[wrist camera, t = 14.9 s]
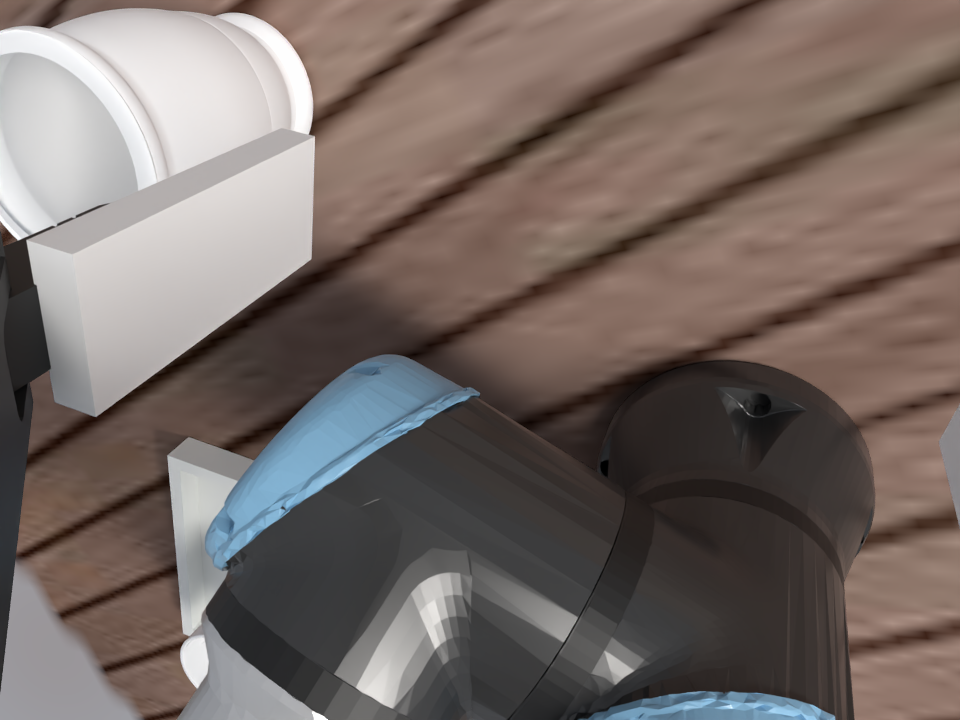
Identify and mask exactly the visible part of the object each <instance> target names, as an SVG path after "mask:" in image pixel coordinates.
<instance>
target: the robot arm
mask: <svg viewBox="0 0 960 720" xmlns="http://www.w3.org/2000/svg"><path fill="white" fill-rule="evenodd" d="M314 151H315V136H311V135H307V134H303V133H299V132H296V131H292V130H288V129H284V128H280V129H278V130H276V131H273V132H271V133H269V134H267V135H264V136H262V137H260V138H258V139H255V140H253V141H251V142H248V143H246V144H244V145H242V146H239V147H237V148H235V149H232V150H230V151H228V152H226V153H223V154H221V155H219V156H217V157H214V158H212V159H210V160H207V161H205V162H203V163H201V164H198V165H196V166H194V167H192V168H189V169H187V170H185V171H182V172H180V173H178V174H176V175H173V176H171V177H169V178H167V179H164V180H162V181H160V182H157V183H155V184H153V185H151V186H148V187H146V188H144V189H142V190H139V191H137V192H135V193H132V194H130V195H128V196H126V197H123V198H121V199H119V200H116V201H114V202H112V203H108V204H103V205H99V206H96V207H94V208H92V209H89V210H87V211H85V212H82V213H80V214H78V215H76V218H72V217H71V218H69V219H66V220H64V221H62V222H60V223H57V226H56V227H55V226H50V227H48V228H46V229H43V230H41V231H39V232H37V233H34V234H32V235H30V236H27V237H25V238H23V239H20V240H18V241H16V242H14V243H11V244H9V245H7V246H4V247H3V242H2V237H1V232H0V690H1V681H2V672H3V664H4V655H5V646H6V637H7V628H8V620H9V611H10V601H11V593H12V585H13V576H14V567H15V559H16V550H17V541H18V532H19V523H20V515H21V506H22V497H23V488H24V480H25V471H26V462H27V453H28V445H29V436H30V427H31V418H32V409H33V398H32V393H31V388H30V382H31V381H32V380H34V379H35V378H37V377H39V376H40V375H42V374H43V373H45V372H47V371H48V370H49V372H50V378H51V384H52V389H53V395H54V401H55V403H58V404H61V405H64V406H67V407H69V408H72V409H75V410H78V411H80V412H83V413H86V414H89V415H92V416H94V417H97V416H98V415H99V414H101V413H102V412H103V411H105V410H106V409H108V408H109V407H110V406H112V405H113V404H114V403H116V402H117V401H118V400H120V399H121V398H123V397H124V396H125V395H127V394H128V393H129V392H131V391H132V390H133V389H135V388H136V387H138V386H139V385H140V384H142V383H143V382H144V381H146V380H147V379H149V378H150V377H151V376H153V375H154V374H155V373H157V372H158V371H159V370H161V369H162V368H164V367H165V366H166V365H168V364H169V363H170V362H172V361H173V360H174V359H176V358H177V357H179V356H180V355H181V354H183V353H184V352H185V351H187V350H188V349H190V348H191V347H192V346H194V345H195V344H196V343H198V342H199V341H200V340H202V339H203V338H205V337H206V336H207V335H209V334H210V333H211V332H213V331H214V330H215V329H217V328H218V327H220V326H221V325H222V324H224V323H225V322H226V321H228V320H229V319H231V318H232V317H233V316H235V315H236V314H237V313H239V312H240V311H241V310H243V309H244V308H246V307H247V306H248V305H250V304H251V303H252V302H254V301H255V300H256V299H258V298H259V297H261V296H262V295H263V294H265V293H266V292H267V291H269V290H270V289H272V288H273V287H274V286H276V285H277V284H278V283H280V282H281V281H282V280H284V279H285V278H287V277H288V276H289V275H291V274H292V273H293V272H295V271H296V270H297V269H299V268H300V267H302V266H303V265H304V264H306V263H307V262H308V261H310V260H311V258H312V223H313V187H314ZM479 397H480V393H479V392H478V391H476V390H475V389H473V388H471V387H469V388H463V387H461V386H459V385H457V384H455V383H454V382H452V381H450V380H448V379H446V378H445V377H443V376H441V375H439V374H437V373H436V372H434V371H432V370H430V369H428V368H426V367H425V366H423V365H421V364H419V363H417V362H416V361H414V360H412V359H409V358H407V357H404V356H400V355H392V354H387V355H379V356H375V357H372V358H369V359H366V360H364V361H362V362H360V363H358V364H356V365H354V366H353V367H351V368H350V369H348V370H347V371H345V372H344V373H343V374H341V375H340V376H338V377H337V378H336V379H334V380H333V381H332V382H331V383H329V384H328V385H327V386H326V387H325V388H324V389H322V390H321V391H320V392H319V393H318V394H317V395H316V396H315V397H313V398H312V399H311V400H310V401H309V402H308V403H307V404H306V405H305V406H304V407H303V408H302V409H301V410H300V411H299V412H298V413H297V414H296V415H295V416H294V417H293V418H292V419H291V420H290V421H289V422H288V423H287V424H286V425H285V426H284V427H283V428H282V429H281V430H280V432H279V433H278V434H277V435H276V436H275V437H274V438H273V439H272V440H271V442H270V443H269V444H268V445H267V446H266V447H265V448H264V449H263V451H262V452H261V453H260V454H259V456H258V457H257V458H256V459H255V460H254V462H253V463H252V464H251V465H250V466H249V468H248V469H247V470H246V471H245V473H244V474H243V475H242V477H241V478H240V479H239V480H238V482H237V483H236V485H235V486H234V487H233V489H232V490H231V492H230V493H229V495H228V496H227V498H226V500H225V502H224V507H223V508H222V509H221V510H220V512H219V513H218V514H217V516H216V517H215V518H214V519H213V521H212V522H211V524H210V526H209V528H208V530H207V533H206V536H205V550H206V553H207V554H208V555H209V556H210V557H211V559H212V560H213V565H214V567H216V568H218V569H219V570H221V571H227V570H228V572H227V575H226V578H225V579H224V581H223V582H222V584H221V585H220V587H219V588H218V590H217V591H216V593H215V594H214V596H213V597H212V599H211V600H210V602H209V603H208V605H207V606H206V608H205V609H204V611H203V613H202V616H201V622H202V628H203V633H204V638H205V644H206V649H207V655H208V660H209V664H208V673H207V675H206V676H205V678H204V679H203V681H202V682H201V684H200V685H199V687H198V688H197V690H196V691H195V693H194V694H193V696H192V698H191V699H190V701H189V702H188V704H187V705H186V707H185V708H184V710H183V711H182V713H181V714H180V716H179V717H178V719H177V720H854V707H853V694H852V681H851V668H850V656H849V643H848V630H847V617H846V604H845V593H844V581H845V579H846V577H847V574H848V572H849V570H850V567H851V565H852V563H853V560H854V558H855V557H856V555H857V554H858V553H859V551H860V549H861V547H862V545H863V544H864V542H865V540H866V538H867V536H868V534H869V531H870V528H871V525H872V521H873V517H874V509H875V487H874V477H873V468H872V463H871V458H870V454H869V451H868V448H867V446H866V443H865V441H864V439H863V437H862V435H861V433H860V431H859V430H858V428H857V426H856V425H855V423H854V422H853V421H852V419H851V418H850V417H849V416H848V415H847V413H846V412H845V411H844V410H843V409H842V408H841V407H840V406H839V405H838V404H837V403H836V402H835V401H833V400H832V399H831V398H830V397H829V396H827V395H826V394H825V393H823V392H822V391H821V390H819V389H817V388H816V387H814V386H813V385H811V384H809V383H807V382H806V381H804V380H802V379H800V378H798V377H795V376H793V375H791V374H788V373H786V372H783V371H780V370H777V369H774V368H770V367H766V366H762V365H757V364H751V363H744V362H730V361H718V362H705V363H698V364H693V365H688V366H684V367H681V368H677V369H674V370H671V371H669V372H666V373H664V374H662V375H660V376H657V377H656V378H654V379H652V380H650V381H649V382H647V383H645V384H644V385H642V386H641V387H640V388H638V389H637V390H636V391H635V392H634V393H632V394H631V395H630V396H629V397H628V398H627V399H626V400H625V402H624V403H623V404H622V405H621V406H620V408H619V409H618V411H617V412H616V414H615V415H614V417H613V419H612V421H611V423H610V425H609V427H608V430H607V433H606V435H605V438H604V441H603V443H602V446H601V449H600V453H599V457H598V462H597V471H595V470H593V469H592V468H590V467H588V466H587V465H585V464H584V463H582V462H580V461H579V460H577V459H575V458H574V457H572V456H570V455H569V454H567V453H566V452H564V451H562V450H561V449H559V448H557V447H556V446H554V445H552V444H551V443H549V442H548V441H546V440H544V439H543V438H541V437H539V436H538V435H536V434H534V433H533V432H531V431H530V430H528V429H526V428H525V427H523V426H522V425H520V424H519V423H517V422H515V421H514V420H512V419H511V418H509V417H508V416H506V415H504V414H503V413H501V412H500V411H498V410H497V409H495V408H493V407H492V406H490V405H489V404H487V403H486V402H484V401H482V400H481V399H479ZM939 444H940V449H941V453H942V457H943V461H944V465H945V469H946V473H947V477H948V481H949V486H950V490H951V494H952V498H953V502H954V506H955V510H956V514H957V518H958V523H959V527H960V404H959V406H958V408H957V410H956V412H955V414H954V415H953V417H952V419H951V421H950V423H949V424H948V426H947V428H946V430H945V432H944V433H943V435H942V437H941V439H940V441H939Z"/></svg>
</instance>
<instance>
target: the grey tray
mask: <svg viewBox="0 0 960 720" xmlns="http://www.w3.org/2000/svg"><path fill="white" fill-rule="evenodd" d="M167 456H168V468H169V479H170V490H171V502H172V513H173V524H174V535H175V547H176V558H177V569H178V581H179V592H180V603H181V615H182V626H183V634H186V635H188V636H190V635H191V634H192V633H193V632H194V631H195V630H196V629H197V628H198V627H199V626H200V625H201V623H202V622H201V616H202V613H203V611H204V609H205V608H206V606H207V605H208V603H209V602H210V600H211V599H212V597H213V596H214V594H215V593H216V591H217V590H218V588H219V587H220V585H221V584H222V582H223V581H224V579H225V578H226V575H227V572H228V570H227V571H221V570H219V569H218V568H216V567H214V565H213V560H212V559H211V557H210V556H209V555H208V554H207V553H206V550H205V536H206V533H207V530H208V528H209V526H210V524H211V522H212V521H213V519H214V518H215V517H216V516H217V514H218V513H219V512H220V510H221V509H222V508H223V507H224V502H225V500H226V498H227V496H228V495H229V493H230V492H231V490H232V489H233V487H234V486H235V485H236V483H237V482H238V480H239V479H240V478H241V477H242V475H243V474H244V473H245V471H246V470H247V469H248V468H249V466H250V465H251V464H252V463H253V462H254V460H252V459H249V458H246V457H243V456H241V455H238V454H235V453H232V452H229V451H227V450H224V449H221V448H218V447H215V446H212V445H210V444H207V443H204V442H201V441H198V440H196V439H193V438H190V437H188V438H187V439H186V440H184V441H183V442H182V443H181V444H180V445H179V446H178V447H176V448H175V449H174V450H173V451H172V452H171V453H170V454H168V455H167Z"/></svg>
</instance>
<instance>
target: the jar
mask: <svg viewBox="0 0 960 720" xmlns="http://www.w3.org/2000/svg"><path fill="white" fill-rule="evenodd" d="M312 118H313V97H312V91H311V86H310V82H309V79H308V75H307V73H306V70H305V68H304V66H303V63H302V61H301V59H300V58H299V56H298V54H297V53H296V51H295V50H294V48H293V47H292V45H291V44H290V43H289V42H288V40H287V39H286V38H285V37H284V36H283V35H282V34H281V33H280V32H279V31H278V30H276V29H275V28H274V27H272V26H271V25H270V24H268V23H267V22H265V21H263V20H261V19H259V18H257V17H254V16H251V15H248V14H243V13H224V14H220V15H217V16H215V17H214V16H211V15H207V14H202V13H196V12H187V11H169V10H161V9H149V8H127V9H116V10H108V11H102V12H97V13H93V14H89V15H85V16H82V17H78V18H75V19H72V20H69V21H67V22H64V23H62V24H59V25H57V26H54V27H52V28H50V29H48V28H43V27H36V26H18V27H12V28H8V29H4V30H1V31H0V221H1V222H2V223H3V225H4V226H5V227H6V228H7V229H8V230H9V231H10V232H11V234H12V235H13V236H14V237H15V238H16V239H18V240H20V239H23V238H25V237H27V236H30V235H32V234H34V233H37V232H39V231H41V230H43V229H46V228H48V227H50V226H55V227H56V226H57V223H60V222H62V221H64V220H66V219H69V218H71V217H72V218H76V215H78V214H80V213H82V212H85V211H87V210H89V209H92V208H94V207H96V206H99V205H103V204H108V203H112V202H114V201H116V200H119V199H121V198H123V197H126V196H128V195H130V194H132V193H135V192H137V191H139V190H142V189H144V188H146V187H148V186H151V185H153V184H155V183H157V182H160V181H162V180H164V179H167V178H169V177H171V176H173V175H176V174H178V173H180V172H182V171H185V170H187V169H189V168H192V167H194V166H196V165H198V164H201V163H203V162H205V161H207V160H210V159H212V158H214V157H217V156H219V155H221V154H223V153H226V152H228V151H230V150H232V149H235V148H237V147H239V146H242V145H244V144H246V143H248V142H251V141H253V140H255V139H258V138H260V137H262V136H264V135H267V134H269V133H271V132H273V131H276V130H278V129H280V128H284V129H288V130H292V131H296V132H299V133H303V134H307V135H309V132H310V129H311V124H312Z"/></svg>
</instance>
